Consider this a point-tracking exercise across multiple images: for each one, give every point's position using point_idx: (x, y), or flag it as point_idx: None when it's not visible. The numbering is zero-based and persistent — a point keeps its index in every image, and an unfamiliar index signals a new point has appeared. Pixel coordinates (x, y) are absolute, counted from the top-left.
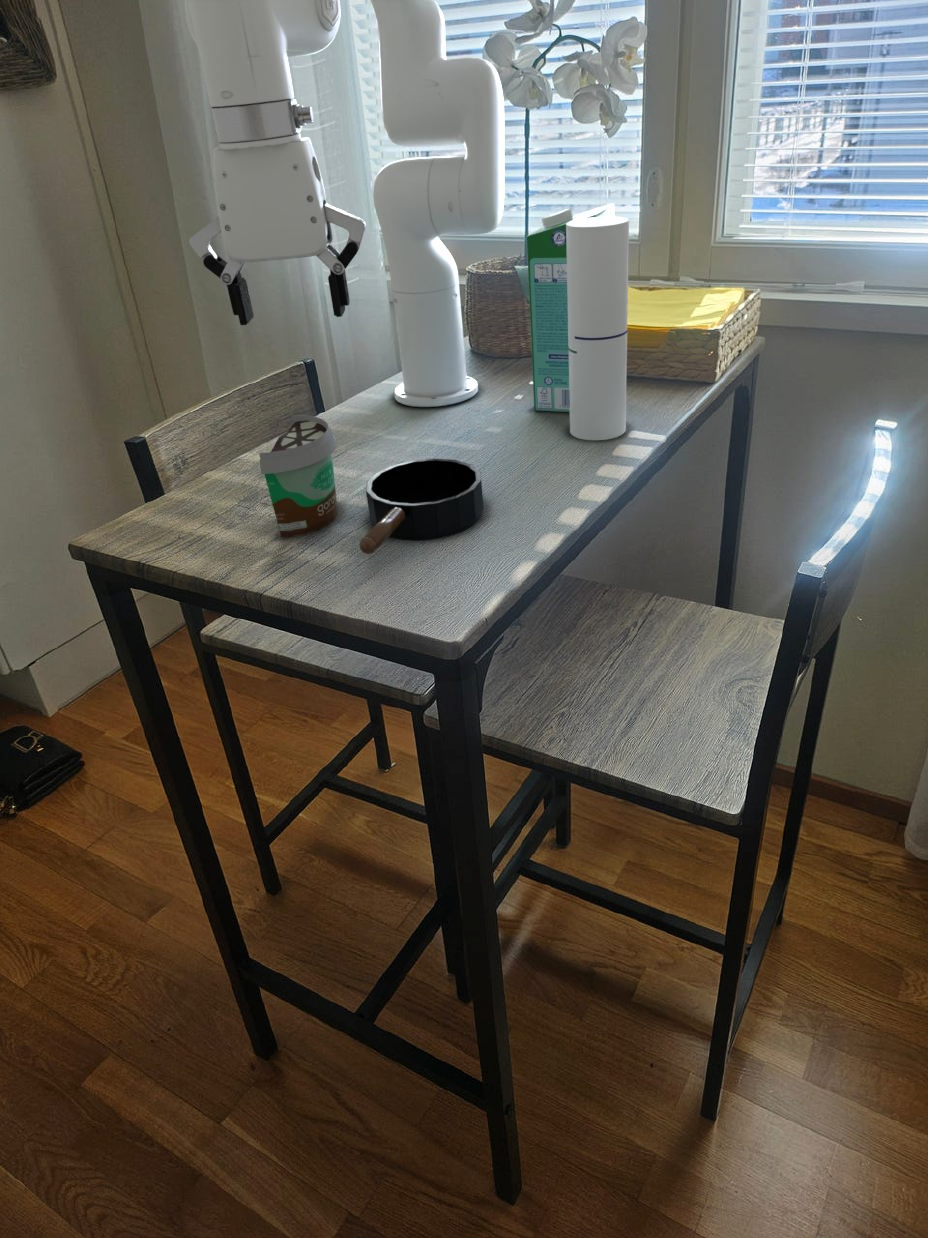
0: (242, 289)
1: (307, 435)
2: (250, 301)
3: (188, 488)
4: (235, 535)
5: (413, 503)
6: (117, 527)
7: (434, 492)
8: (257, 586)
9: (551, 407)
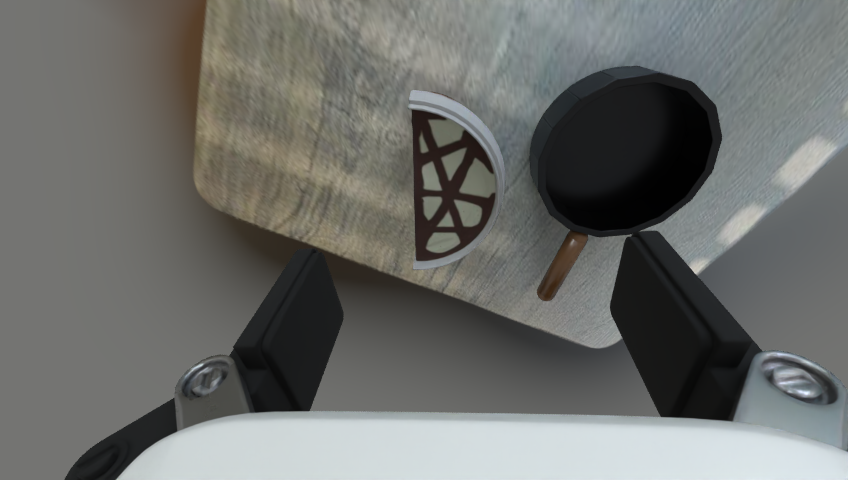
0: (304, 376)
1: (457, 177)
2: (304, 282)
3: (208, 28)
4: (366, 188)
5: (590, 130)
6: (204, 160)
7: (626, 93)
8: (433, 282)
9: None
